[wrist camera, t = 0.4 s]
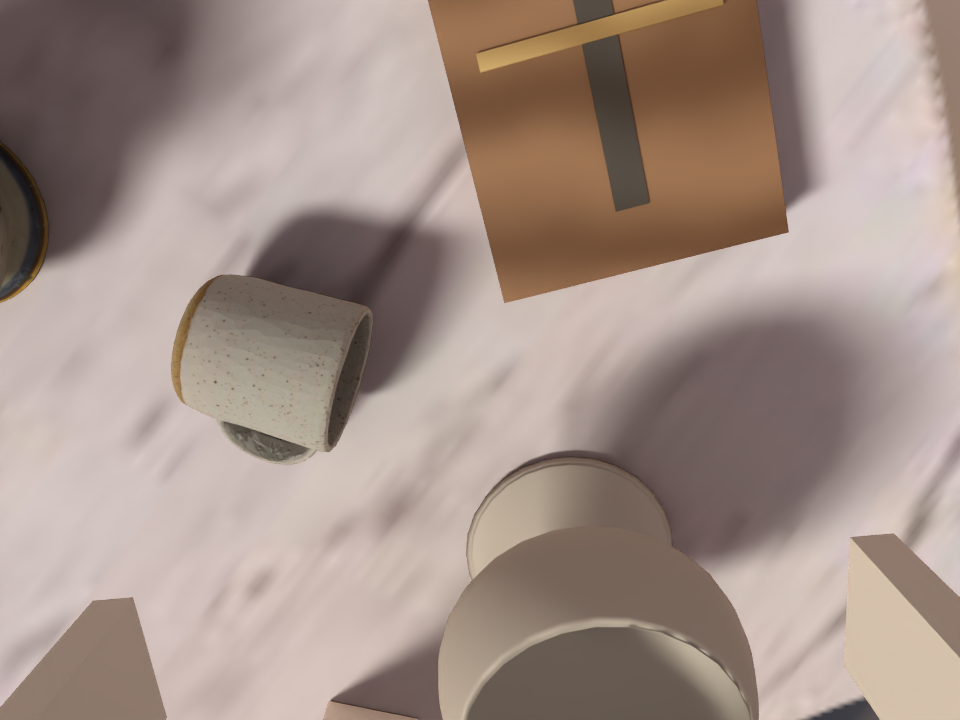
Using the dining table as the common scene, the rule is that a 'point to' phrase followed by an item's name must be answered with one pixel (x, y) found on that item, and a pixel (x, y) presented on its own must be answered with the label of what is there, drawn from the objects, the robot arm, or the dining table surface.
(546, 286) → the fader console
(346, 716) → the milk
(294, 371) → the ceramic mug
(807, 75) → the dining table surface
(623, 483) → the chalice
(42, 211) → the apothecary jar
